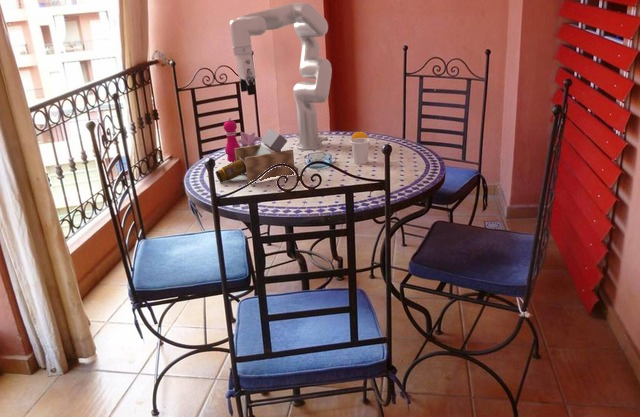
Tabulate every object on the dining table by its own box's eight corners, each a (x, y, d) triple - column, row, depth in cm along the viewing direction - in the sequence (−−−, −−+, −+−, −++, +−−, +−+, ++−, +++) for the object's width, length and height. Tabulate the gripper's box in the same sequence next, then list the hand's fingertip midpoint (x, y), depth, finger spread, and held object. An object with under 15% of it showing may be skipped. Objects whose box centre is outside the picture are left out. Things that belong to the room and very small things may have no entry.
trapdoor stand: (284, 164, 243) (282, 140, 239) (298, 175, 227) (296, 149, 223) (237, 173, 235) (234, 148, 231) (248, 184, 220) (245, 158, 216)
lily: (267, 150, 271) (263, 132, 272) (255, 147, 260) (251, 128, 261) (246, 157, 275) (242, 139, 276) (234, 154, 264) (230, 135, 265)
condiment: (238, 156, 227) (212, 168, 224) (244, 160, 220) (217, 173, 217) (245, 171, 231) (219, 183, 228) (251, 176, 223) (224, 189, 220)
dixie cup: (360, 158, 244) (359, 136, 240) (374, 161, 238) (373, 139, 234) (347, 163, 238) (346, 141, 235) (361, 166, 233) (360, 143, 229)
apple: (363, 149, 257) (362, 134, 254) (348, 148, 261) (347, 133, 258) (370, 145, 263) (370, 130, 260) (356, 144, 267) (355, 129, 264)
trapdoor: (277, 134, 235) (269, 128, 233) (288, 141, 223) (280, 134, 220) (246, 173, 235) (239, 167, 233) (256, 182, 223) (248, 176, 221)
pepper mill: (239, 162, 251) (233, 119, 244) (224, 162, 253) (218, 119, 245) (244, 157, 258) (239, 115, 250) (229, 157, 259) (224, 115, 252)
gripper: (258, 51, 216) (263, 94, 222) (245, 48, 230) (250, 88, 237) (239, 53, 213) (245, 97, 220) (228, 50, 228) (234, 91, 235)
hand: (248, 92), depth 228 cm, fingers open, 9 cm apart
